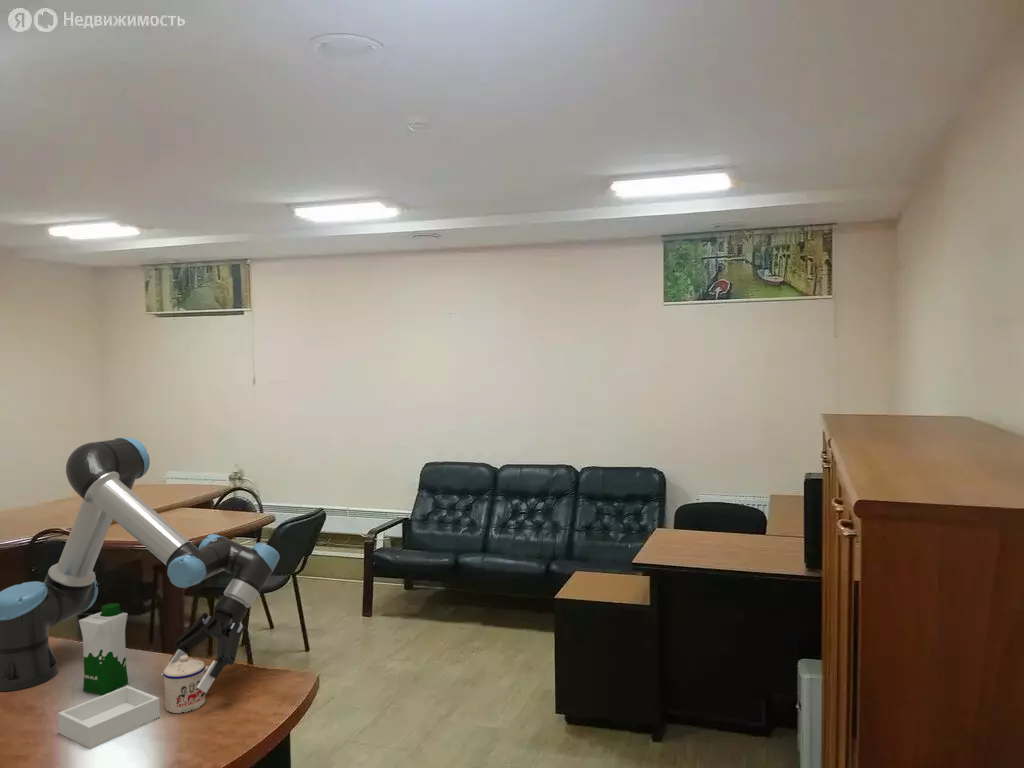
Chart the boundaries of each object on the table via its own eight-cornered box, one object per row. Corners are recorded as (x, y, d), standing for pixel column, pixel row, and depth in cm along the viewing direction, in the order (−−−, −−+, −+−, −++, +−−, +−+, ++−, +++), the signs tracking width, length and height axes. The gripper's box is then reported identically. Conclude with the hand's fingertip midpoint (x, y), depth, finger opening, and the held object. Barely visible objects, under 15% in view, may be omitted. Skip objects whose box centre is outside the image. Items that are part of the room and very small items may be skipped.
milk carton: (134, 682, 186) (131, 604, 185) (102, 698, 178) (99, 616, 177) (109, 677, 190) (106, 600, 189) (76, 692, 181) (73, 612, 180)
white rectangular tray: (58, 733, 161) (58, 713, 161) (128, 704, 174) (127, 685, 174) (89, 748, 155) (89, 727, 154) (159, 717, 168) (159, 698, 168)
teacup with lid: (177, 718, 167) (175, 667, 167) (156, 707, 173) (154, 658, 172) (225, 698, 177) (223, 650, 176) (204, 688, 182) (202, 642, 182)
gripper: (278, 617, 181) (227, 702, 169) (213, 601, 194) (162, 678, 182) (259, 602, 176) (206, 688, 164) (195, 586, 189) (141, 665, 177)
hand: (183, 683), depth 173 cm, fingers open, 13 cm apart
